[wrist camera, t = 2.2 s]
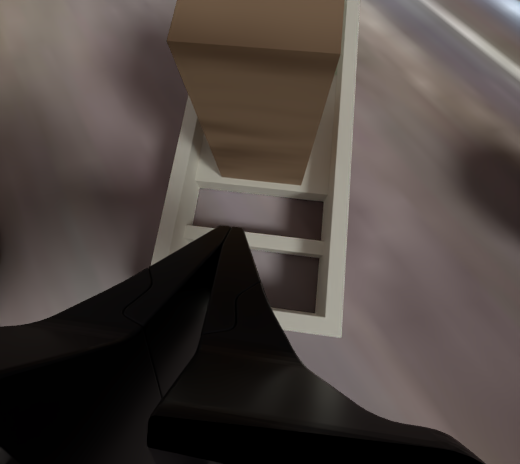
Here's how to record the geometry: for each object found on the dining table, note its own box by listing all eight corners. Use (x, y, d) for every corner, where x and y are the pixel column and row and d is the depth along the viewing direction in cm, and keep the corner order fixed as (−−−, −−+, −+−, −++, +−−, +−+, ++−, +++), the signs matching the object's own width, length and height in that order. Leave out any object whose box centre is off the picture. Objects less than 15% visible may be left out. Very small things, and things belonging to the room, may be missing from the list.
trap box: (328, 329, 19) (341, 338, 15) (163, 306, 19) (140, 309, 16) (350, -14, 26) (363, -61, 22) (230, -22, 26) (224, -68, 23)
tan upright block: (301, 185, 19) (340, 53, 9) (221, 177, 20) (166, 40, 9) (310, 93, 21) (352, -109, 11) (237, 87, 22) (206, -114, 11)
